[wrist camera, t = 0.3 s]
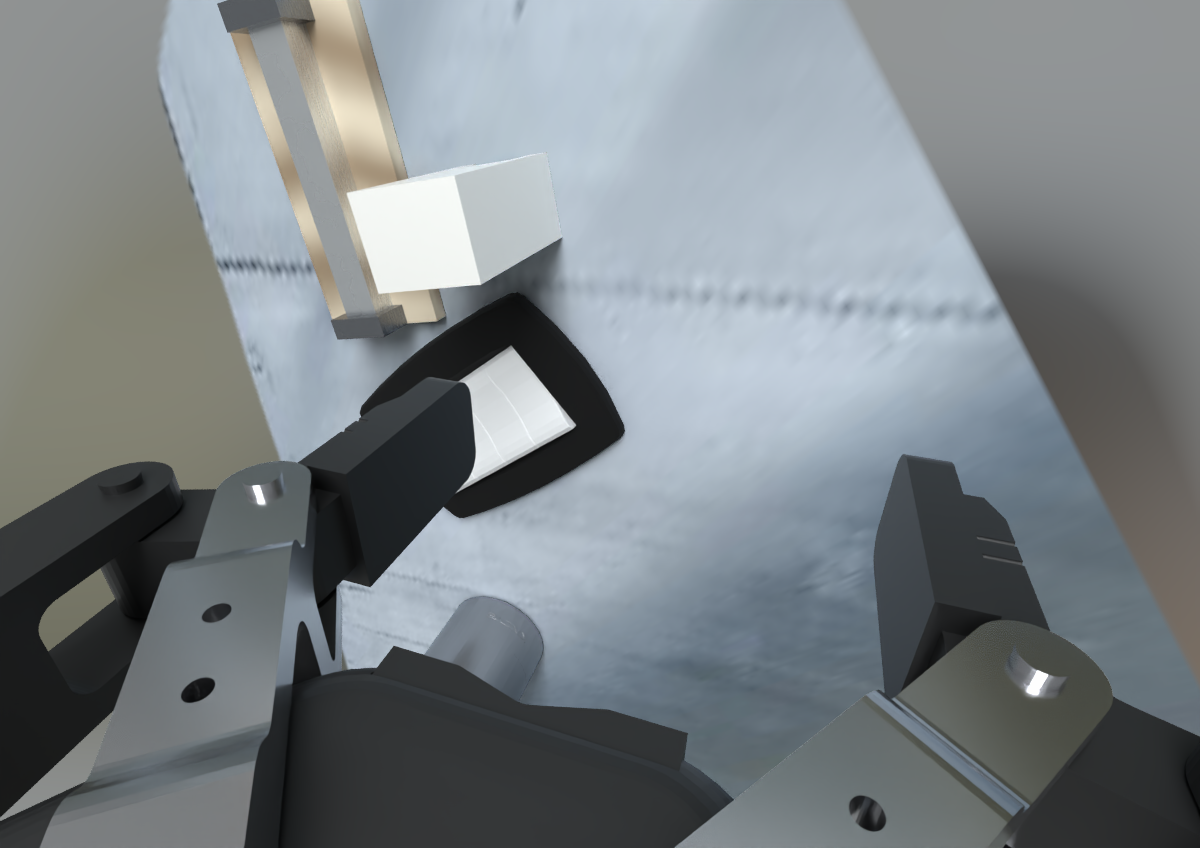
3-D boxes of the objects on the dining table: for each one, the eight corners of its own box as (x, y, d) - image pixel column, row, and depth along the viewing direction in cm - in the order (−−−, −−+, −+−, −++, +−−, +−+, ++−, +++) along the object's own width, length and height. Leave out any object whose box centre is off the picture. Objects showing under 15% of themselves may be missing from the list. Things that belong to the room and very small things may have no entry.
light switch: (453, 538, 53) (335, 415, 49) (468, 516, 56) (356, 397, 51) (637, 448, 43) (508, 284, 39) (646, 425, 46) (524, 268, 41)
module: (562, 237, 40) (480, 284, 30) (470, 247, 42) (369, 294, 33) (546, 152, 37) (454, 175, 28) (450, 168, 40) (336, 194, 31)
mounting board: (445, 315, 45) (437, 321, 44) (346, 323, 48) (335, 328, 47) (354, -16, 36) (341, -19, 35) (240, 19, 40) (225, 17, 38)
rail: (407, 323, 45) (384, 336, 42) (362, 326, 46) (337, 339, 44) (306, -8, 36) (270, -14, 34) (255, 8, 38) (217, 3, 35)
